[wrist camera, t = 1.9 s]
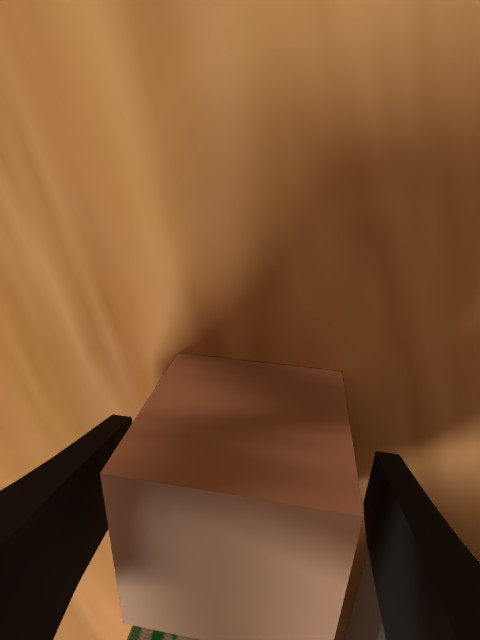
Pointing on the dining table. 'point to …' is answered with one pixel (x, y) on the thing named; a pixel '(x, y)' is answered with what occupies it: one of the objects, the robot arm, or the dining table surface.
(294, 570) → the terracotta cube
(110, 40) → the dining table surface
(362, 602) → the charcoal slab
